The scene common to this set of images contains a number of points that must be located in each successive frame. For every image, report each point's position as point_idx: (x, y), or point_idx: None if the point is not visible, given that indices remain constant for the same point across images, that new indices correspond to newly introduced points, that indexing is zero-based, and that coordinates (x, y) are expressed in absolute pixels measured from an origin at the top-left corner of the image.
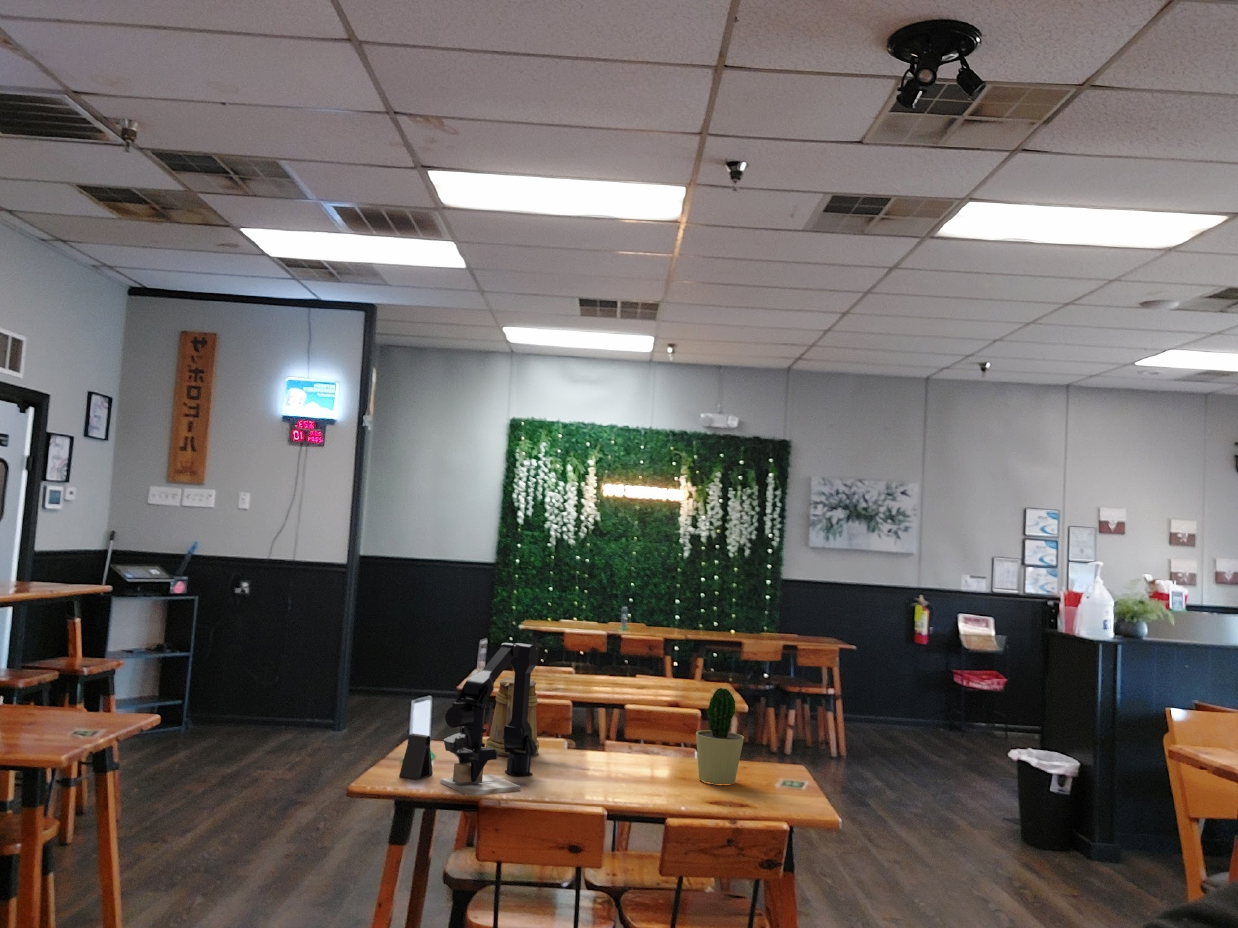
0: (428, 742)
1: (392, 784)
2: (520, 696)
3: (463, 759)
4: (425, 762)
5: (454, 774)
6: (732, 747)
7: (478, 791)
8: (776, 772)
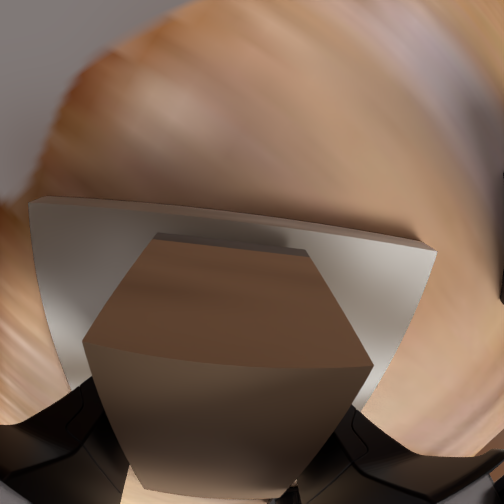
0: None
1: (478, 14)
2: None
3: (339, 479)
4: None
5: (299, 278)
6: None
7: (41, 269)
8: None
